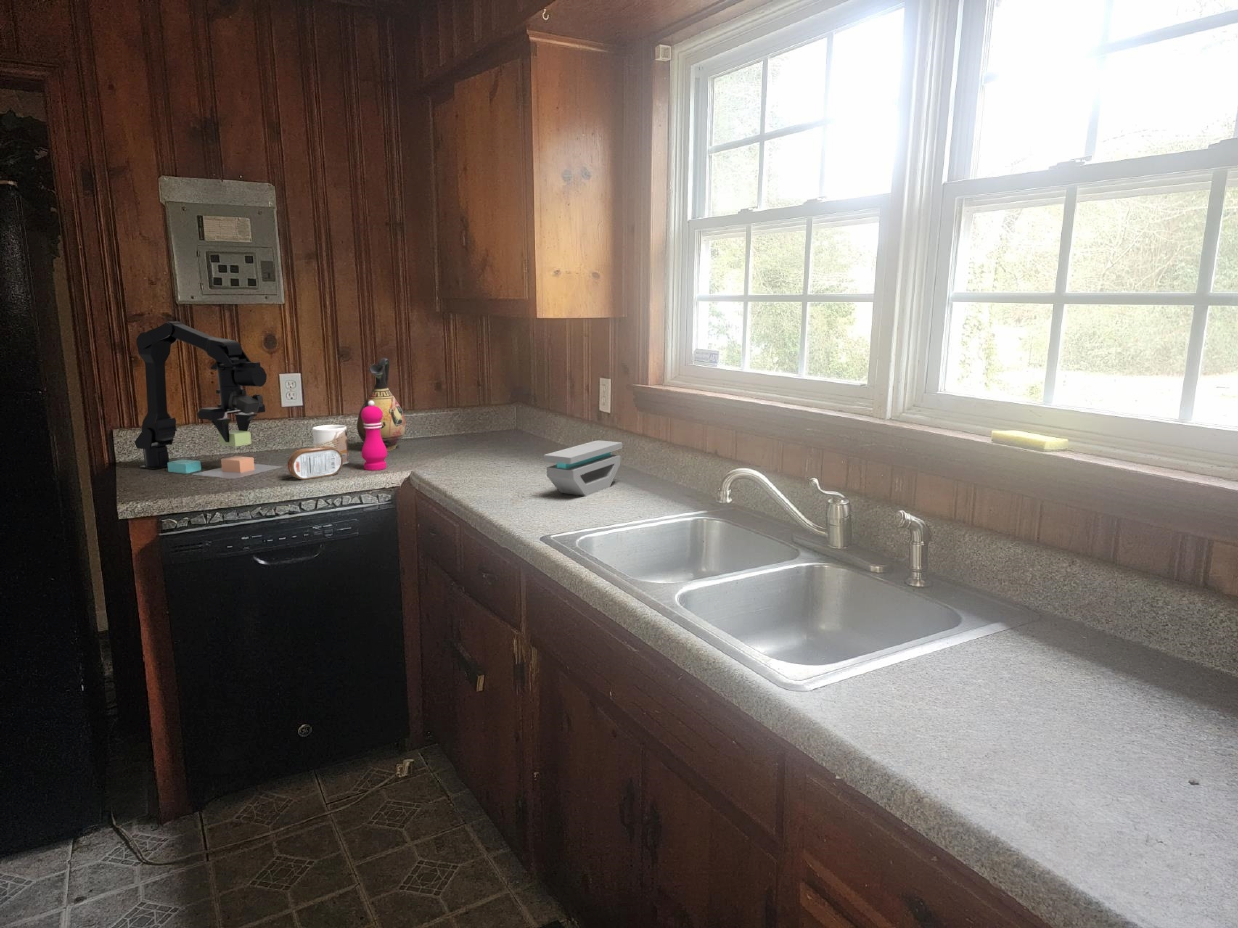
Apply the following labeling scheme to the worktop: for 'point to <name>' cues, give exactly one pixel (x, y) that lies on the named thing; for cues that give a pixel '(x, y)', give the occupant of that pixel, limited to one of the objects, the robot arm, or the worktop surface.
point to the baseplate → (233, 475)
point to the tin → (315, 462)
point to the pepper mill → (373, 438)
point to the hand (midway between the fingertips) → (235, 440)
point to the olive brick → (236, 438)
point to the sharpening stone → (584, 467)
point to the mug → (332, 438)
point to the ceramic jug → (384, 408)
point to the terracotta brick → (237, 464)
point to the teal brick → (184, 466)
